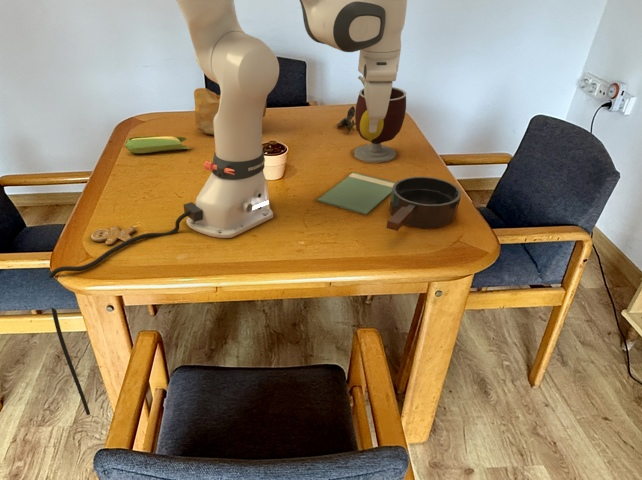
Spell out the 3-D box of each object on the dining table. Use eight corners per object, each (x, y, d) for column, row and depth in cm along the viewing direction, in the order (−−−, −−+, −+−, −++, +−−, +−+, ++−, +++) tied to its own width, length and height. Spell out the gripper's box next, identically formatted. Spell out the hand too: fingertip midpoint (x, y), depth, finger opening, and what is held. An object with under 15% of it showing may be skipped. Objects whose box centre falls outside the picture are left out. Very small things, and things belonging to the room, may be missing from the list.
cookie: (131, 241, 121) (87, 242, 121) (132, 245, 122) (88, 246, 122) (136, 223, 128) (94, 225, 127) (136, 227, 128) (95, 228, 128)
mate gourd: (407, 153, 158) (420, 80, 145) (380, 167, 151) (390, 92, 138) (365, 140, 166) (373, 70, 153) (337, 153, 159) (343, 81, 146)
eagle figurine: (365, 129, 171) (359, 115, 176) (356, 112, 165) (350, 97, 171) (344, 142, 173) (338, 128, 179) (334, 126, 168) (329, 111, 174)
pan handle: (397, 231, 115) (398, 223, 114) (386, 227, 117) (387, 220, 115) (418, 210, 122) (419, 202, 121) (407, 207, 123) (409, 200, 122)
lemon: (380, 137, 132) (384, 103, 126) (381, 145, 127) (386, 110, 122) (357, 137, 132) (361, 102, 127) (358, 145, 128) (362, 110, 123)
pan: (441, 235, 122) (446, 211, 118) (378, 218, 129) (381, 194, 125) (464, 209, 131) (470, 186, 127) (404, 194, 138) (408, 171, 134)
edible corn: (127, 150, 165) (124, 135, 162) (191, 146, 166) (190, 131, 163) (126, 157, 161) (123, 142, 158) (192, 152, 163) (190, 137, 160)
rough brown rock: (267, 122, 183) (266, 74, 174) (267, 135, 170) (265, 83, 161) (201, 125, 185) (196, 77, 175) (195, 138, 171) (189, 88, 162)
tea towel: (366, 215, 130) (366, 213, 130) (317, 201, 136) (317, 199, 136) (400, 185, 142) (400, 183, 142) (353, 173, 148) (353, 172, 148)
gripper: (361, 51, 126) (355, 112, 135) (367, 75, 111) (360, 142, 120) (388, 50, 125) (381, 112, 135) (397, 75, 110) (388, 142, 120)
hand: (371, 126), depth 127 cm, fingers closed on lemon, 5 cm apart
